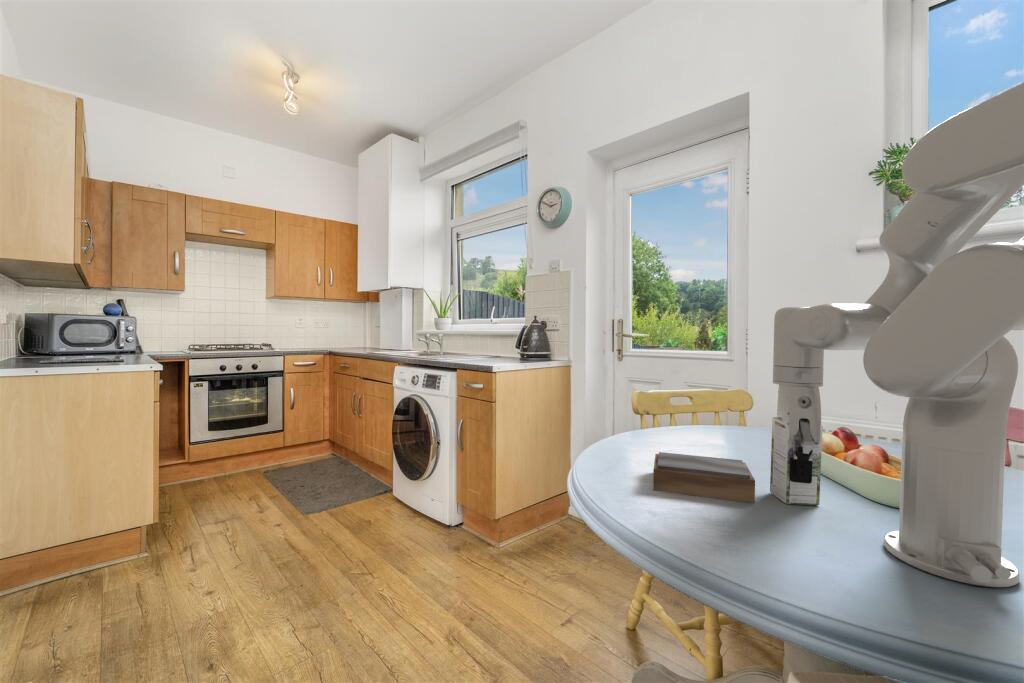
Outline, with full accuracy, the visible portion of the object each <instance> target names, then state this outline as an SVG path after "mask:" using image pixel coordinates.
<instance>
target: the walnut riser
mask: <svg viewBox="0 0 1024 683" xmlns="http://www.w3.org/2000/svg"><path fill="white" fill-rule="evenodd" d="M751 472H752V471H751V470H750V469H749V467H748V465H747V463H746V462H743V460H742V459H733V458H724V457H713V456H711V457H710V456H702V455H693V454H692V455H691V454H683V453H681V454H680V453H675V452H674V453H671V452H661V451H659V452H658V453H655V457H654V463H653V475H652V476H653V478H652V480H653V482H652V484H653V485H652V491H656V492H665V493H672V494H681V495H686V496H687V495H690V496H695V497H696V496H697V497H704V498H711V499H712V498H713V499H719V500H720V499H721V500H728V501H733V502H742V503H750V504H755V503H756V502H755V501H756V500H755V499H756V498H755V497H756V479H755V478H754V476H753V474H752V473H751Z"/></svg>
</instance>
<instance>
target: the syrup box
mask: <svg viewBox="0 0 1024 683" xmlns="http://www.w3.org/2000/svg"><path fill="white" fill-rule="evenodd" d="M771 422H772V424H771V448H770V449H771V450H770V478H769V480H770V482H769V492H770V493H771V494H772V495H773V496H775V497H776V498H777V499H778V500H779V501H781V502H783V503H784V504H786V505H800V506H801V505H802V506H819V505H820V500H821V499H820V498H821V497H820V496H821V492H820V491H821V477H822V476H821V474H822V473H821V472H822V471H821V470H822V449H823V448H822V446H823V441H822V442H821V443H820V444H819V445H816V444H814V441H813V447H812V451H813V452H812V457H813V460H812V483H810V484H807V483H798V482H792V481H790V479H789V472H790V458H792V442H790V441H788V440H787V435H786V430H785V425H784V422H783V420H782V419H781V418H779V417H777V416H776V417H775V416H774V417H772V421H771ZM822 431H823V425H822ZM794 436H795V435H794ZM811 436H812V435H811ZM812 439H813V438H812ZM795 440H797V441H802V439H801V437H796V436H795ZM815 443H816V442H815ZM799 446H800V445H796V447H797V449H798V447H799Z"/></svg>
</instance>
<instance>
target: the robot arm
mask: <svg viewBox="0 0 1024 683" xmlns="http://www.w3.org/2000/svg"><path fill="white" fill-rule="evenodd" d="M901 175H902V176H901V177H902V180H903V183H905V185H906V186H907V187H908V188H909V189H911V191H912V190H913V191H915V192H914V193H913V195H912V196H911V197H910V198H909V199H908V201H907V202H906V203H905V204H904V205H903V207H902V208H901V209H900V211H899V212H898V213H897V214H896V215H895V216H894V217H893V219H892V220H891V221H890V223H888V225H887V226H886V227H885V229H884V230H883V231H882V232H881V234H880V236H879V239H878V240H879V245H880V247H881V248H882V250H884V251H885V253H886V255H887V257H888V260H889V267H888V272H887V274H886V276H885V278H883V281H882V282H881V284H880V285H879V287H877V289H876V290H875V291H874V292H873V293H872V294H871V295H870V297H868V299H867V300H866V301H865V302H864V303H838V302H837V303H834V302H833V303H824V304H817V305H814V306H790V307H781V308H779V309H778V310H776V311H775V314H774V318H773V319H774V321H773V358H772V360H773V362H772V363H773V364H772V384H775V385H778V391H777V393H778V394H777V408H776V417H779V418H781V419H782V420H783V422H784V425H785V430H786V435H787V440H788V441H790V442H792V458H790V472H789V479H790V481H792V482H798V483H807V484H810V483H812V460H813V457H812V452H813V451H812V447H813V441H814V444H816V445H819V444H820V443H821V442H822V443H823V430H822V426H823V424H822V402H821V401H822V400H821V393H820V388H821V387H823V386H824V357H825V356H824V355H825V354H824V353H825V351H858V350H859V351H863V350H864V352H863V357H862V359H863V360H862V361H863V363H862V364H863V367H864V369H863V370H864V371H865V374H866V376H867V378H868V379H869V380H870V382H871V383H872V384H873V385H875V386H876V387H877V388H878V389H880V390H881V391H884V392H886V393H889V394H891V395H894V396H898V397H903V398H908V401H907V404H906V407H905V410H904V411H905V412H904V416H903V420H902V421H903V422H902V437H901V457H900V458H901V461H900V464H901V465H900V489H899V490H900V491H899V492H900V493H899V518H898V519H899V522H898V524H899V525H898V530H892V531H889V532H888V533H885V534H884V539H883V545H884V548H886V550H887V552H889V553H890V554H891V555H893V556H894V557H895V558H897V559H899V560H900V561H902V562H903V563H906V564H907V565H909V566H912V567H914V568H915V569H916V568H917V569H919V570H921V571H924V572H927V573H929V574H932V575H934V576H938V577H941V578H944V579H947V580H951V581H955V582H958V583H959V582H960V583H964V584H968V585H973V586H981V587H985V588H988V587H989V588H1008V587H1013V586H1015V585H1017V584H1019V581H1020V570H1019V569H1018V567H1017V566H1016V565H1014V563H1012V562H1011V561H1010V560H1008V559H1006V558H1005V557H1003V556H1002V550H1003V549H1002V540H1003V539H1002V538H1003V515H1004V514H1003V512H1004V491H1005V490H1004V487H1005V466H1006V465H1005V464H1006V451H1007V435H1008V433H1007V431H1008V421H1009V413H1010V407H1011V403H1012V398H1013V395H1014V390H1015V387H1016V385H1017V384H1016V382H1017V379H1018V373H1019V359H1018V355H1017V352H1016V350H1015V348H1014V346H1013V345H1012V343H1011V342H1010V341H1009V339H1007V338H1006V337H1005V335H1006V334H1008V333H1009V332H1011V331H1024V235H1023V236H1022V237H1021V238H1019V239H1018V240H1017V241H1015V242H1014V243H1013V242H992V243H985V244H979V245H975V246H972V247H969V248H965V249H964V250H962V249H963V248H964V247H965V246H966V245H967V243H969V241H970V240H971V239H972V238H973V237H974V236H976V234H977V233H978V232H979V231H980V230H981V229H982V228H983V227H984V226H985V225H986V224H987V223H988V222H989V221H990V220H992V218H993V217H994V216H995V215H996V214H997V213H998V212H999V211H1000V210H1001V209H1002V208H1003V207H1004V206H1005V204H1007V203H1008V201H1009V200H1010V199H1011V198H1012V197H1014V195H1015V194H1016V193H1017V192H1018V191H1020V189H1021V188H1022V187H1023V186H1024V82H1022V83H1018V84H1017V85H1015V86H1012V87H1011V88H1009V89H1007V90H1004V91H1003V92H1001V93H998V94H996V95H994V96H992V97H990V98H988V99H986V100H983V101H981V102H979V103H978V104H975V105H973V106H972V107H969V108H967V109H965V110H963V111H961V112H958V113H957V114H956V115H953V116H951V117H949V118H947V119H946V120H944V121H942V122H941V123H939V124H938V125H935V126H934V127H933V128H931V129H930V130H928V131H927V132H926V133H925V134H923V135H922V136H921V137H920V138H919V139H918V140H917V141H916V142H915V143H914V144H913V145H912V147H910V149H909V150H908V152H907V154H906V155H905V157H904V159H903V162H902V166H901ZM961 250H962V251H961ZM794 435H795V436H796V437H801V439H802V441H797V440H795V436H794ZM811 435H812V436H811ZM812 438H813V439H812ZM815 442H816V443H815ZM796 445H800V446H799V447H798V449H797V447H796Z"/></svg>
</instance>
